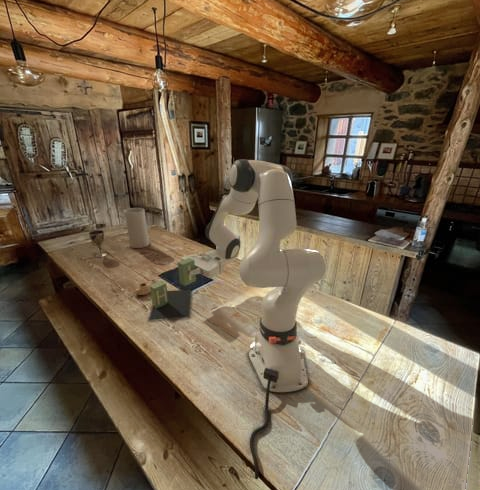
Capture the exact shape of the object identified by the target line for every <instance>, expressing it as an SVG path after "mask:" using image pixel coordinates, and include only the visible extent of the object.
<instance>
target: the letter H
mask: <svg viewBox="0 0 480 490" xmlns="http://www.w3.org/2000/svg"><path fill="white" fill-rule="evenodd" d="M150 291H151V292H150V297H151V303H152V307H153V306H154V307H156V308H159V307H161V306H163V305H165V304H167V303H169V302H168V294H167V291H168V287H167V283H166V282H165V281H163V280H160V281H157V283H156V284H153V285H151V286H150Z"/></svg>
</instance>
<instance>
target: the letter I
mask: <svg viewBox="0 0 480 490" xmlns="http://www.w3.org/2000/svg"><path fill="white" fill-rule="evenodd" d="M177 267H178V277H179V284H181V285H183V286H184V287H185V286H186V287H187V285H190V284H192V283H194V282H197V274H193V275H189V274H188V271H189V270H195V263H194V260H193V259H191V258H188V259H185V260H182V261H181V260H179V261H177Z"/></svg>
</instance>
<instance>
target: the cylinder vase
mask: <svg viewBox="0 0 480 490" xmlns="http://www.w3.org/2000/svg"><path fill="white" fill-rule="evenodd" d="M123 212H124V219H125V224H126V229H127V235H128V241H129V246H130V247H131V248H132V249H143V248H144V249H145V248H146V247H148V246H150V240H149V239H150V238H149V233H148V232H149V231H148V226H147V218H146V211H145V208H142V207H129V208H126V209H125V210H123Z"/></svg>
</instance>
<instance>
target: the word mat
mask: <svg viewBox="0 0 480 490" xmlns="http://www.w3.org/2000/svg"><path fill="white" fill-rule="evenodd" d="M167 294H168V302H169V303H167V304H165V305H163V306H161V307H159V308H156V307H154V306H153V305H152V310H151V313H150V316H149V321H155V320H169V319H182V318H183V319H184V318H190V310H191V309H190V308H191V307H190V306H191V298H192V297H191V294H192V289H180V290H177V289H176V290H167Z"/></svg>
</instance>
